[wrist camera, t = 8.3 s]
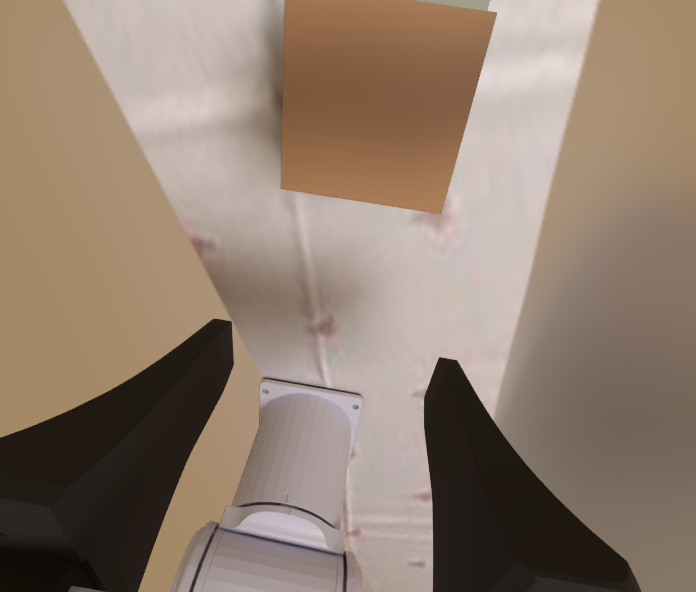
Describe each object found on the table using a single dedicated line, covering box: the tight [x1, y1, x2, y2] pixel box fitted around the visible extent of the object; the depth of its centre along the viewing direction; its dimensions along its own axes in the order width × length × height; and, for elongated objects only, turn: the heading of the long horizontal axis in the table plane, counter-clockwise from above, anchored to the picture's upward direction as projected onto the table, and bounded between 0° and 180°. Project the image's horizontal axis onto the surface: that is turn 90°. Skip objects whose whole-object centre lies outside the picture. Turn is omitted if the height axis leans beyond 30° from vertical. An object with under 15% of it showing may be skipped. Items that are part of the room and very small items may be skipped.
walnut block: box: [281, 0, 497, 214], centre depth 11 cm, size 4×4×5 cm
